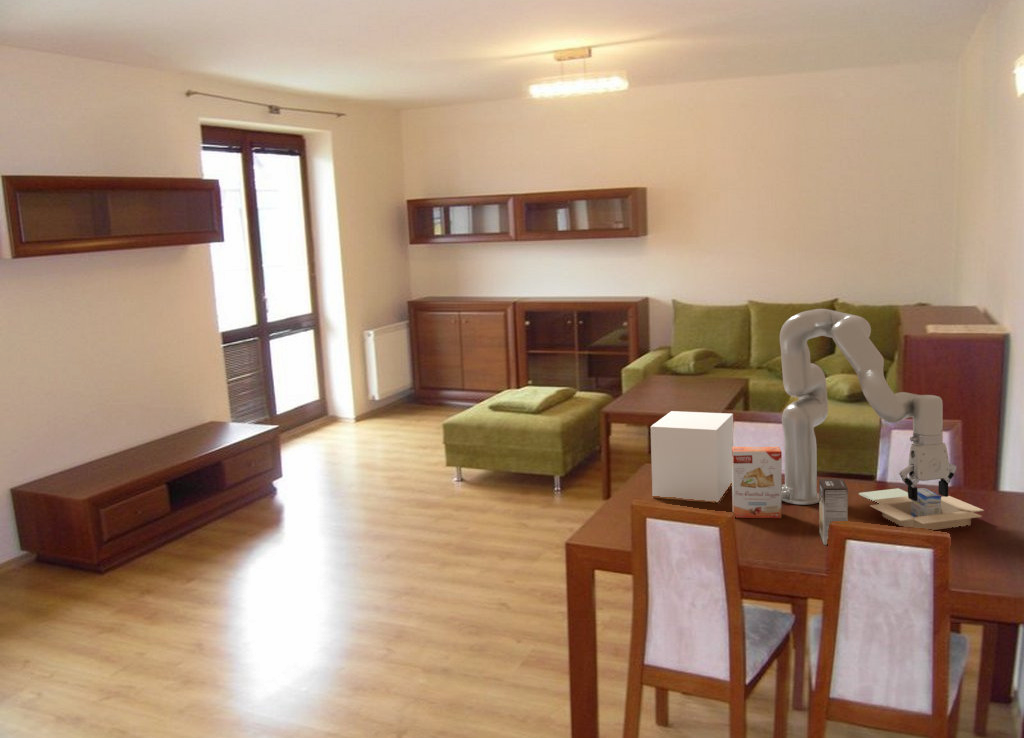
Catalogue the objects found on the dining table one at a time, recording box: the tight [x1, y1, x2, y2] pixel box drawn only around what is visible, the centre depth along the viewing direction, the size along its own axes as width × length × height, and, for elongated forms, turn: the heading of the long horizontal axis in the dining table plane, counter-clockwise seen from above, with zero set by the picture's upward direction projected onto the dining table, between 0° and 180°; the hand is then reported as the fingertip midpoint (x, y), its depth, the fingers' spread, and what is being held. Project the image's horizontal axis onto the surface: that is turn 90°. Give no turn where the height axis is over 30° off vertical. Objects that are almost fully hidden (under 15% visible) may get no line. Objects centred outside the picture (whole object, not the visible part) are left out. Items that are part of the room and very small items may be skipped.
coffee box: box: [818, 478, 849, 546], centre depth 229 cm, size 9×6×16 cm
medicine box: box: [911, 487, 942, 517], centre depth 240 cm, size 8×4×9 cm, turn 5°
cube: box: [650, 410, 734, 502], centre depth 280 cm, size 25×21×24 cm
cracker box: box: [731, 446, 783, 519], centre depth 251 cm, size 14×6×21 cm, turn 80°
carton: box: [869, 495, 985, 531], centre depth 240 cm, size 26×22×4 cm
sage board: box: [858, 488, 908, 504], centre depth 262 cm, size 14×14×1 cm
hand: (928, 497), depth 239 cm, fingers open, 9 cm apart
